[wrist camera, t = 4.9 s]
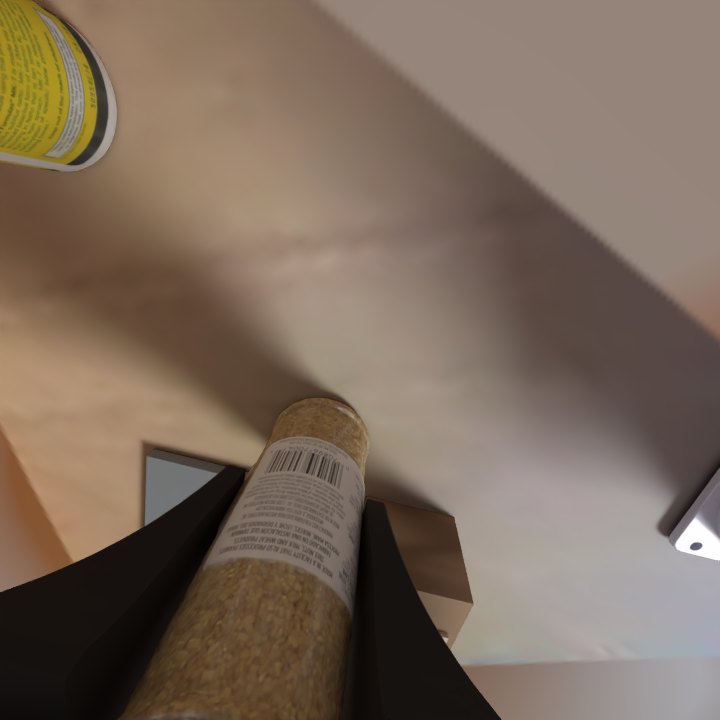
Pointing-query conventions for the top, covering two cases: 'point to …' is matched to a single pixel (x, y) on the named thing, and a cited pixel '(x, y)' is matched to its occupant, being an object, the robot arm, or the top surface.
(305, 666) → the sprinkles bottle
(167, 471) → the grey mat
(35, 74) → the supplement bottle
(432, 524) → the walnut block
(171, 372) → the top surface
